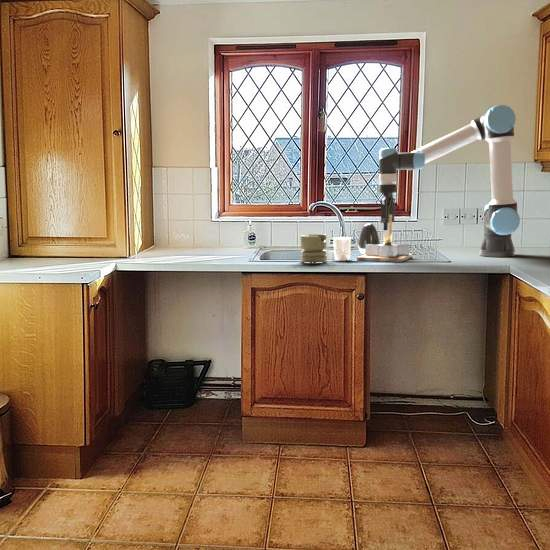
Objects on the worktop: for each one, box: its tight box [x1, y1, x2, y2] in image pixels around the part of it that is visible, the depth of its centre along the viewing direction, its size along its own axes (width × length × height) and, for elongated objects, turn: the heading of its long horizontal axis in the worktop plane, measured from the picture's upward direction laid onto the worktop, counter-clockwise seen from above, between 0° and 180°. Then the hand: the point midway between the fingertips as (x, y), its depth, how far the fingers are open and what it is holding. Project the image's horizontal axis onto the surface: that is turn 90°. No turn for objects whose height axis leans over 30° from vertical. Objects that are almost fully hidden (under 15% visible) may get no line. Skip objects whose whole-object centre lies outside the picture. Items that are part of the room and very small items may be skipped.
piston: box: [300, 233, 328, 263], centre depth 282 cm, size 11×12×11 cm
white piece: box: [366, 243, 410, 257], centre depth 287 cm, size 18×12×5 cm, turn 62°
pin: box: [383, 214, 393, 246], centre depth 284 cm, size 4×4×16 cm
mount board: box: [356, 253, 413, 263], centre depth 287 cm, size 20×16×2 cm
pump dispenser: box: [357, 222, 381, 255], centre depth 303 cm, size 10×10×15 cm
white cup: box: [332, 236, 352, 262], centre depth 287 cm, size 8×8×10 cm
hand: (387, 237), depth 284 cm, fingers closed on pin, 4 cm apart
